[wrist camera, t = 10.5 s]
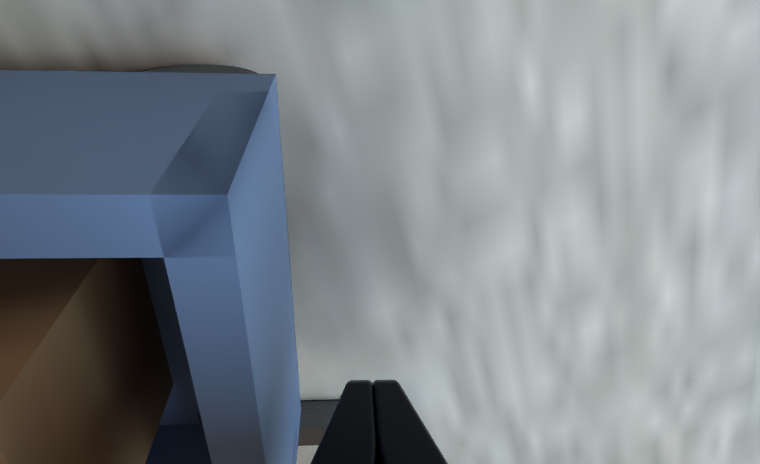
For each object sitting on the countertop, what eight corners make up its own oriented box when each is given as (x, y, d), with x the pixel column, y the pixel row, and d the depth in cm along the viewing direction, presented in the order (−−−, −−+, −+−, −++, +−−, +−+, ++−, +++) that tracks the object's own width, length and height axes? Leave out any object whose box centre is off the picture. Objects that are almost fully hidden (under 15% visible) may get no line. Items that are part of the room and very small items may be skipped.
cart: (283, 55, 10) (227, 193, 5) (304, 372, 15) (284, 596, 10) (-259, 45, 10) (-870, 194, 5) (-57, 380, 15) (-261, 622, 10)
